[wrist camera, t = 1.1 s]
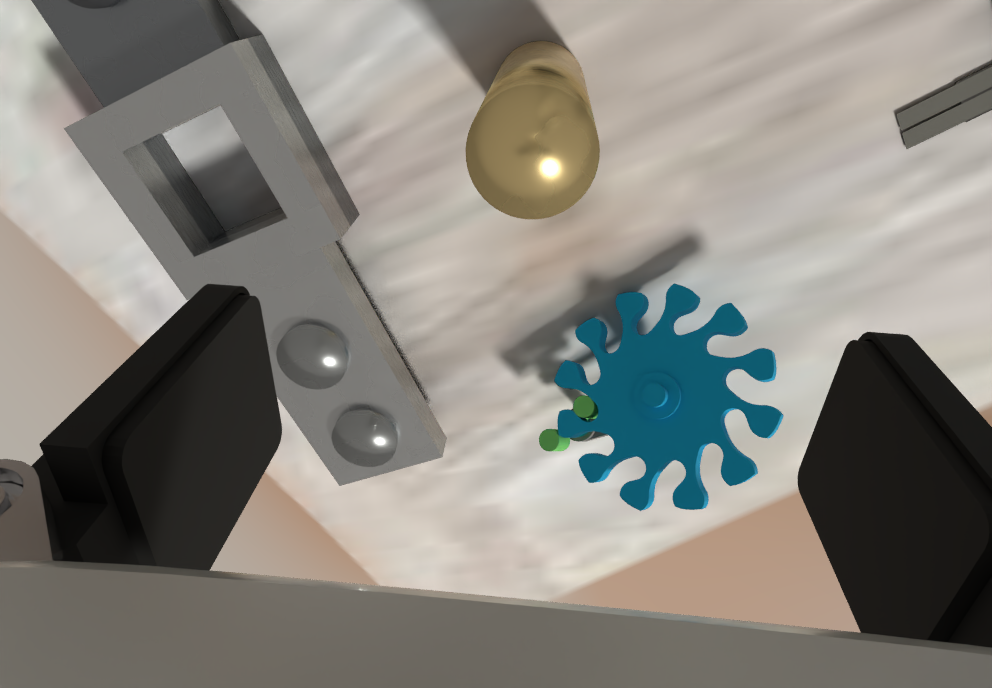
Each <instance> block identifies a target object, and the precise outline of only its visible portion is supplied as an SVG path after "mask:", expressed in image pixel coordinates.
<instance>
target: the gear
mask: <svg viewBox="0 0 992 688" xmlns="http://www.w3.org/2000/svg"><path fill="white" fill-rule="evenodd" d="M699 303H700V298H699V297H698V296H697V295H696V294H695V293H694V292H693V291H691V290H690V289H688V288H686V287H683V286H680V285H677V284H673V285H672V286H671V287H670V288H669V289H668V291H667V294H666V305H665V310H664V313H663V315H662V317H661V319H660V320H659V322H658V323H657V324H656V326H655V327H654V328H653V329H652V330H651V331H650V332H649V333H648V334H646V335H639V333H638V332H637V323H638V321H639V320H640V319H641V318H642V316H643V315H644V314H645V313H646V311H647V309H648V306H649V302H648V299H647V297H646V296H645V295H643V294H642V293H638V292H628V293H623V294H618V296H617V298H616V307H617V309H618V311H619V313H620V316H621V318H622V323H623V333H622V338H621V343H620V346H619V348H618V350H617V351H615V352H614V353H608V352H607V351H606V348H605V342H606V338H607V333H608V332H607V327H606V325H605V324H604V323H603V322H602V321H600V320H598V319H596V318H592V319H589V320H587V321H585V322H584V323H583V324H581V325H580V326H579V327H578V328H577V329H576V330H575V333H576V337H577V338H578V340H579V341H580V342H582V343H584V344H585V345H586V346H588V347H589V348H590V349H591V350H592V352H593V353H594V355H595V357H596V359H597V361H598V364H599V368H600V372H601V375H600V379H599V380H598V382H597V383H595V384H593V385H590V384H589V383H588V381H587V378H586V375H585V371H584V369H583V367H582V366H581V365H580V364H578V363H575V362H572V361H568V360H565V361H564V362H563V363H562V365H561V366H560V368H559V370H558V372H557V374H556V377H555V379H554V381H555V382H556V384H557V385H558V386H560V387H563V388H568V389H577V390H580V391H582V392H583V393H585V394H586V395H587V396H584V395H583V396H579V397H578V398H576V400H575V401H574V404H573V409H571V410H562V411H560V412H559V415H558V430H557V429H546V430H544V431H543V432H542V433H541V435H540V437H539V443H540V446H541V447H542V448H543V449H544V450H546V451H564V450H565V449H567V448H568V446H569V444H570V439H572V440H574V441H589V440H593V439H596V438H600V437H604V436H607V435H609V436H611V437H612V439H613V441H614V444H615V447H614V450H613V452H612V453H611V454H610V455H609V456H605V455H602V454H598V453H591V454H585V455H583V456H582V457H581V458H580V459H579V466H580V468H581V471H582V472H583V474H584V476H585V477H586V479H587V480H588V482H589V483H594V482H600V481H603V480H605V479H606V478H607V477H608V475H609V473H610V471H611V470H612V469H613V468H614V467H615V466H616V465H617V464H618V463H620V462H622V461H623V460H626V459H628V458H632V457H636V456H637V457H640V458H641V459H642V460H643V461H644V462H645V464H646V472H645V475H644V476H643V477H642V478H640V479H638V480H634V481H630V482H627V483H626V484H624V485H623V487H622V488H621V491H620V497H621V498H622V499H623V500H624V501H625V502H626V503H627V504H629V505H631V506H632V507H634V508H636V509H638V510H640V511H641V510H645V509H647V508H649V507H650V506H651V505H652V503H653V501H654V490H655V484H656V482H657V479H658V477H659V475H660V473H661V472H662V471H663V470H664V469H665V468H666V467H667V465H668V464H669V463H670V462H672V461H674V460H677V461H679V462H681V463H682V464H683V465H684V467H685V469H686V477H685V479H684V480H683V481H682V482H681V483H680V484H679V486H678V487H677V488H676V489H675V491H674V493H673V502H674V505H675V506H676V507H678V508H681V509H690V510H694V509H703V508H706V506H707V504H708V493H707V491H706V489H705V488H704V486H703V483H702V480H701V476H700V461H701V456H702V452H703V449H704V448H705V446H706V445H708V444H710V443H715V444H717V445H718V446H720V448H721V449H722V451H723V455H724V457H723V462H722V466H721V475H722V478H723V479H724V481H725V482H726V483H727V484H728V485H730V486H732V485H737V484H740V483H743V482H745V481H747V480H749V479H751V478H752V477H753V476H755V475H756V474H758V471H757V467H756V465H755V463H754V462H753V461H752V460H751V459H750V458H748V457H747V456H745V455H744V454H742V453H741V452H740V451H739V450H738V449H737V448H736V447H735V446H734V444H733V443H732V441H731V440H730V437H729V435H728V433H727V429H726V426H725V422H724V419H725V416H726V414H727V413H728V412H729V411H731V410H734V409H739V410H741V411H742V412H743V413H744V414H745V416H746V418H747V421H748V424H749V427H750V429H751V430H752V432H753V433H754V434H756V435H757V436H759V437H762V438H770V437H771V436H772V435H774V433H775V432H776V431H777V429H778V427H779V425H780V423H781V421H782V418H783V414H782V413H781V412H780V411H779V410H778V409H776V408H774V407H771V406H767V405H754V404H750V403H747V402H745V401H744V400H742V399H740V398H739V397H738V396H736V395H735V394H734V393H733V392H732V391H731V390H730V389H729V388H728V387H727V385H726V377H727V375H728V374H729V373H730V372H731V371H732V370H735V369H742V370H744V371H746V372H747V373H748V374H749V375H750V376H752V377H753V378H755V379H756V380H758V381H762V382H769V381H772V380H774V379H775V376H776V360H775V355H774V353H773V352H772V351H771V350H769V349H764V348H762V349H757V350H754V351H752V352H751V353H749V354H746V355H744V356H740V357H735V358H725V357H718V356H713V355H710V354H709V352H708V351H707V342H708V340H709V339H710V338H711V337H712V336H714V335H718V334H719V335H726V336H738V335H741V334H743V333H744V332H745V331H746V330H747V328H748V326H747V323H746V321H745V319H744V317H743V316H742V315H741V313H740V312H739V311H738V310H737V309H736V308H735V307H734V306H733V304H732V303H727V304H724V305H722V306H721V307H719V308H718V310H717V311H716V313H715V314H714V316H713V317H712V319H711V320H710V321H709V322H708V323H707V324H706V325H704V326H703V327H701V328H700V329H698V330H696V331H693V332H691V333H688V334H685V335H676V333H675V332H674V323H675V321H676V320H677V319H678V318H679V317H681V316H684V315H686V314H689V313H691V312H693V311H695V310H696V309H697V307H698V306H699Z"/></svg>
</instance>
